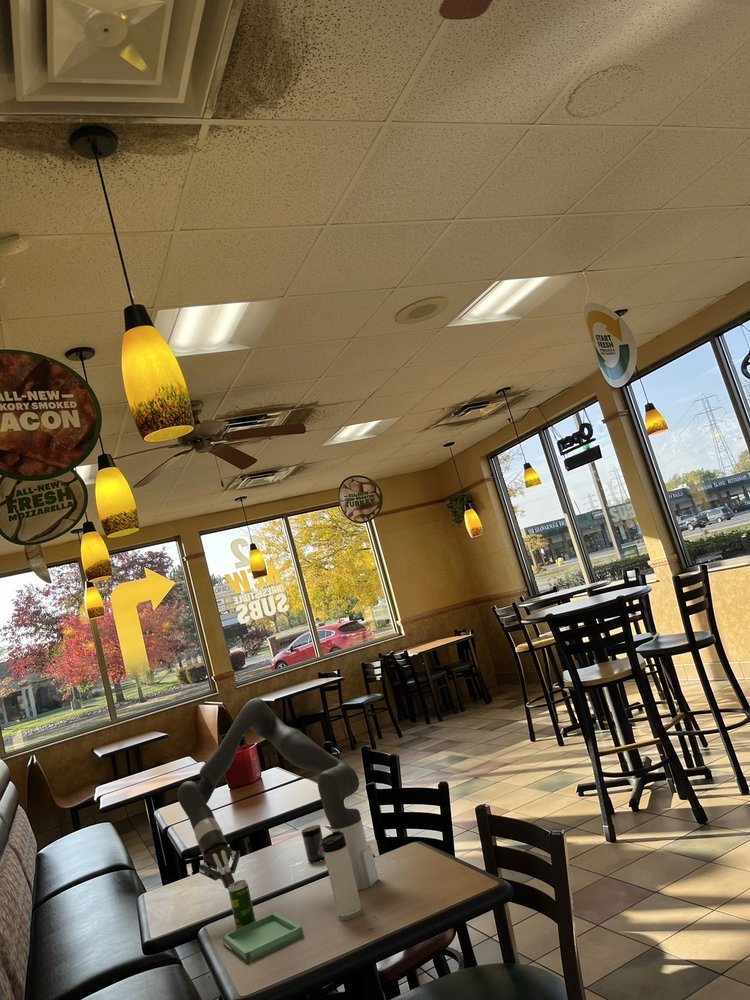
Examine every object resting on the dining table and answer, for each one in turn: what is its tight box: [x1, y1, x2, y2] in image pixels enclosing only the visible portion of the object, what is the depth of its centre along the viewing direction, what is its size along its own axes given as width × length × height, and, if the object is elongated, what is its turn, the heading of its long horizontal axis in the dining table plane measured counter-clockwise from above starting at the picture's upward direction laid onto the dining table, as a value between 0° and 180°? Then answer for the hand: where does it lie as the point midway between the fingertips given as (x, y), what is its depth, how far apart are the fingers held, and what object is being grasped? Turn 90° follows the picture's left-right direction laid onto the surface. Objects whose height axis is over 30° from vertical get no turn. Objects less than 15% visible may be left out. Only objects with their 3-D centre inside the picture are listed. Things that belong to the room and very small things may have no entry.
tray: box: [221, 911, 305, 964], centre depth 187 cm, size 20×15×2 cm
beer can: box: [227, 879, 257, 930], centre depth 199 cm, size 5×5×12 cm
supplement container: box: [301, 824, 325, 864], centre depth 249 cm, size 7×7×10 cm
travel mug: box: [321, 831, 363, 921], centre depth 190 cm, size 6×7×20 cm
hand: (230, 887), depth 206 cm, fingers closed
